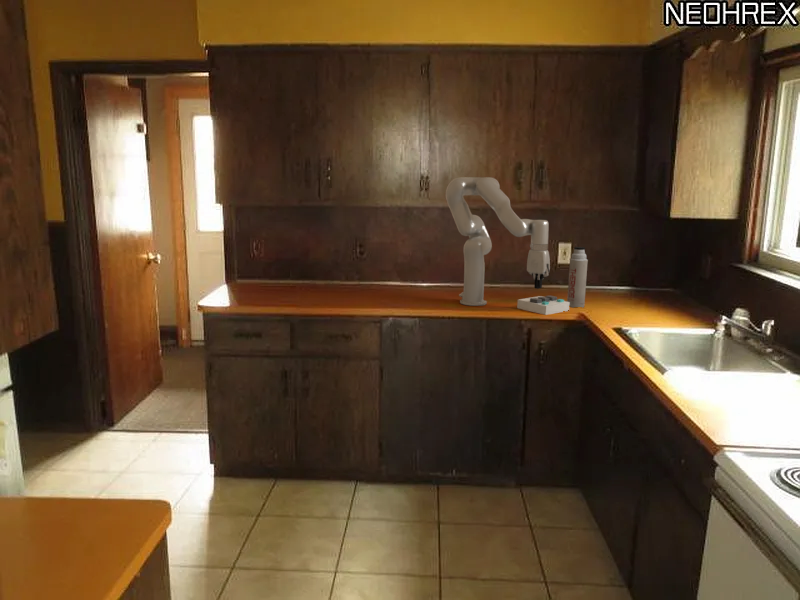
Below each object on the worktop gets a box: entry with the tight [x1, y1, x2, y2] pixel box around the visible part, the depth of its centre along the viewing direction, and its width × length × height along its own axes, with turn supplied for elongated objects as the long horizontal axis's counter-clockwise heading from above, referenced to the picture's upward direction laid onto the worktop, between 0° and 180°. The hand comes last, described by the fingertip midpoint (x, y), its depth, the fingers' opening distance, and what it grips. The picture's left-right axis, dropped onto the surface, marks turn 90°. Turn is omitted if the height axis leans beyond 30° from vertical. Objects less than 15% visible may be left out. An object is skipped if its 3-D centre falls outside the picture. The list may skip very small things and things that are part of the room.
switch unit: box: [516, 295, 570, 316], centre depth 303 cm, size 17×16×5 cm
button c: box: [544, 294, 558, 301], centre depth 306 cm, size 4×3×4 cm
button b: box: [537, 296, 550, 302], centre depth 303 cm, size 4×3×4 cm
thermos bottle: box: [566, 246, 589, 308], centre depth 309 cm, size 8×8×28 cm
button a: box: [529, 297, 542, 304], centre depth 300 cm, size 4×3×4 cm
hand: (538, 288), depth 298 cm, fingers closed
